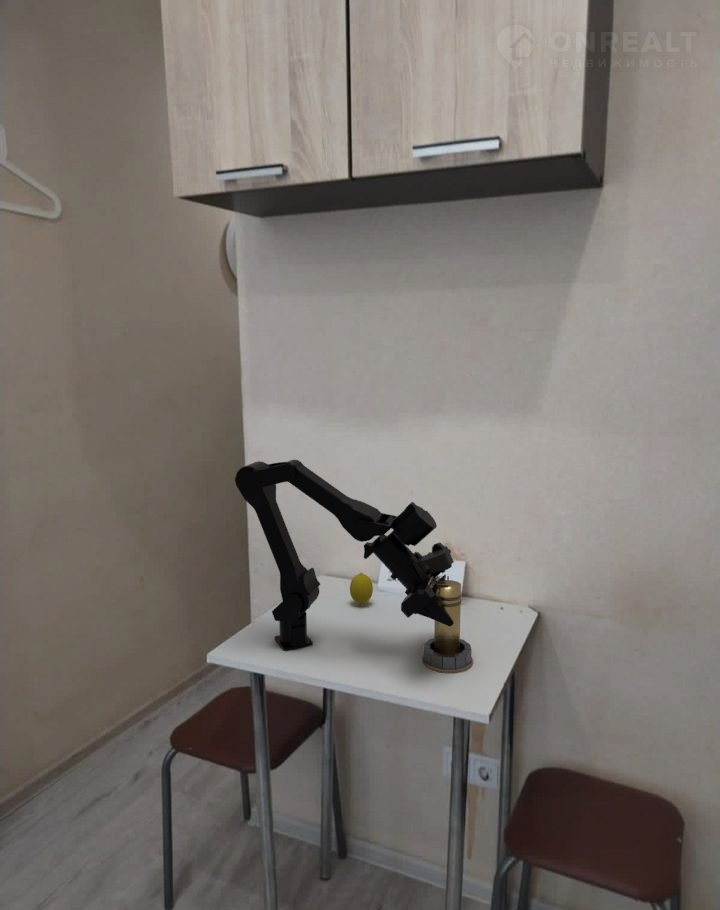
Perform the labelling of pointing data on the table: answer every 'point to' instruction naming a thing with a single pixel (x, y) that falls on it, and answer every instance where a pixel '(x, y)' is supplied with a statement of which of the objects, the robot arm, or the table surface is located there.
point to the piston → (451, 601)
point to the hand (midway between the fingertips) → (454, 619)
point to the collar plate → (446, 670)
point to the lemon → (361, 588)
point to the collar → (447, 656)
